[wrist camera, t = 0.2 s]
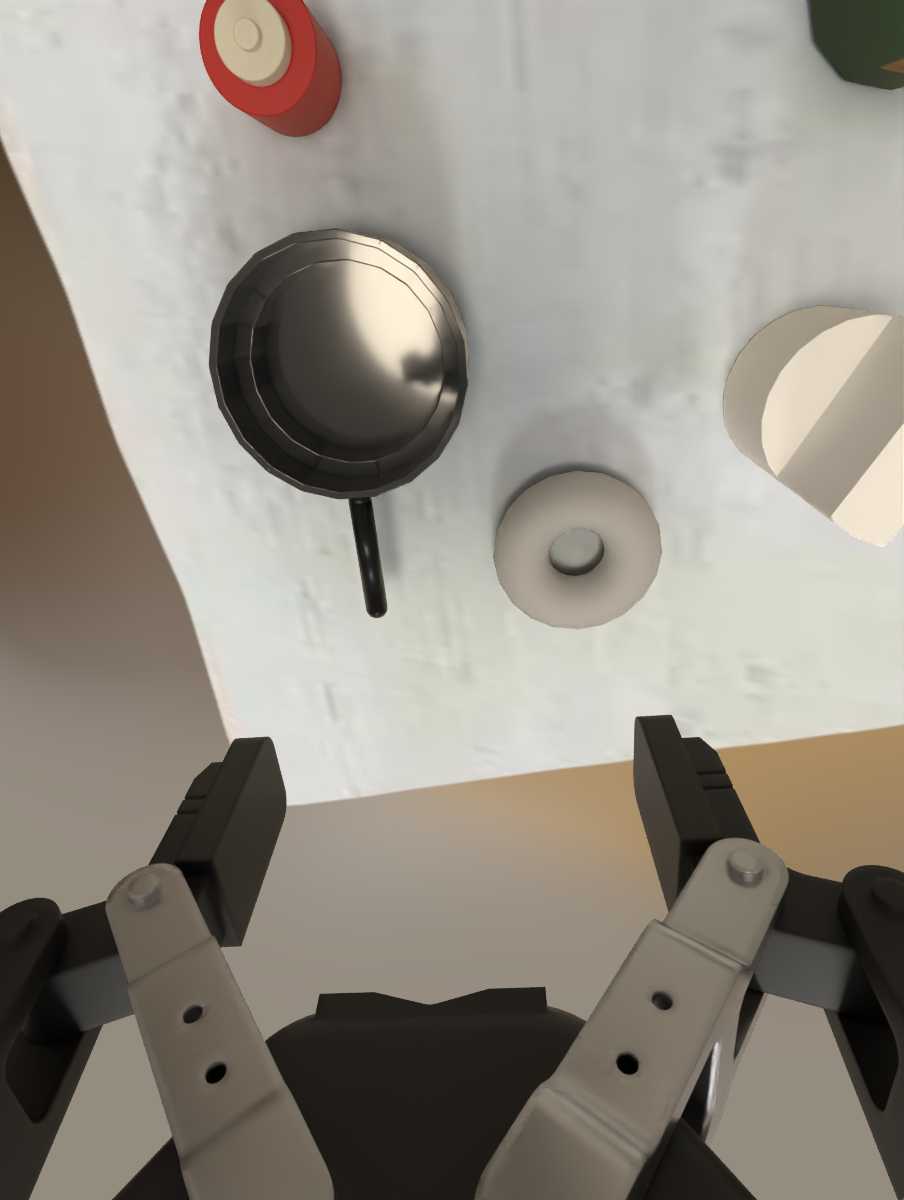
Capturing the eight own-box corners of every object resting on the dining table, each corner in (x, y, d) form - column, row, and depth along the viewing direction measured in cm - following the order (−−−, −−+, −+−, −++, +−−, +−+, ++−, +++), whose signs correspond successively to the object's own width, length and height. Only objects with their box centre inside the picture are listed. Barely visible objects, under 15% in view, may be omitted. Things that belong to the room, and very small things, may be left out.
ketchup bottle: (231, 20, 33) (168, -40, 26) (332, 7, 32) (294, -57, 26) (253, 141, 35) (200, 115, 28) (348, 130, 35) (317, 101, 28)
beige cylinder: (790, 273, 37) (920, 282, 26) (925, 354, 38) (1101, 393, 27) (691, 428, 40) (768, 492, 30) (817, 496, 42) (935, 580, 31)
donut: (589, 638, 47) (689, 519, 43) (596, 666, 44) (705, 541, 40) (462, 563, 45) (555, 431, 41) (461, 587, 42) (560, 446, 38)
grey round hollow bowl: (223, 246, 37) (180, 244, 32) (458, 221, 36) (454, 215, 31) (271, 475, 42) (241, 507, 37) (476, 458, 42) (476, 488, 36)
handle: (348, 486, 38) (345, 493, 37) (371, 484, 38) (368, 491, 36) (369, 612, 41) (366, 622, 40) (389, 611, 41) (387, 621, 40)
